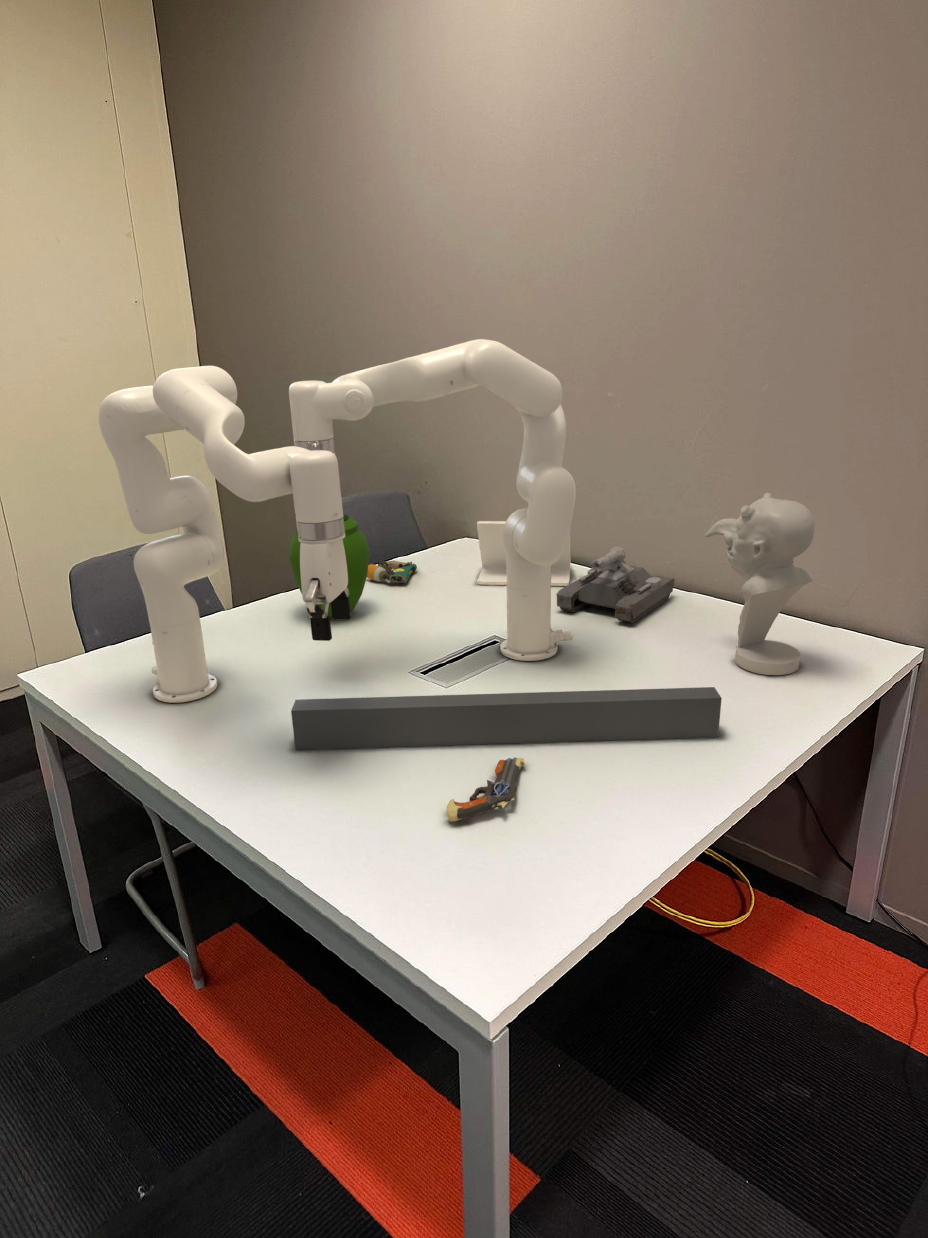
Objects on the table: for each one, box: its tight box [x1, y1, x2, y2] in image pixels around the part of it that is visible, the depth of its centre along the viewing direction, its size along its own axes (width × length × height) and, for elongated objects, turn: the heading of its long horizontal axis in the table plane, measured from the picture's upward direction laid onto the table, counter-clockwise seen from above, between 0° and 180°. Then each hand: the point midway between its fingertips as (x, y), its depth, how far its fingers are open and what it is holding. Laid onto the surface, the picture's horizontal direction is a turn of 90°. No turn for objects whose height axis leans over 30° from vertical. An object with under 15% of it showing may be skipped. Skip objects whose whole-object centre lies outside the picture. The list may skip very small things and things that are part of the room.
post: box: [290, 686, 723, 751], centre depth 150 cm, size 74×4×8 cm, turn 91°
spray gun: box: [366, 560, 418, 584], centre depth 241 cm, size 4×17×15 cm
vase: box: [288, 513, 370, 620], centre depth 209 cm, size 20×20×24 cm
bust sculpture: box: [704, 492, 816, 676], centre depth 176 cm, size 16×24×35 cm, turn 28°
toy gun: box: [446, 756, 526, 822], centre depth 134 cm, size 3×19×10 cm
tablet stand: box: [476, 520, 572, 587], centre depth 236 cm, size 18×25×17 cm
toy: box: [556, 546, 676, 624], centre depth 212 cm, size 25×20×15 cm
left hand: (332, 629), depth 143 cm, fingers open, 9 cm apart
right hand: (322, 535), depth 168 cm, fingers open, 9 cm apart
